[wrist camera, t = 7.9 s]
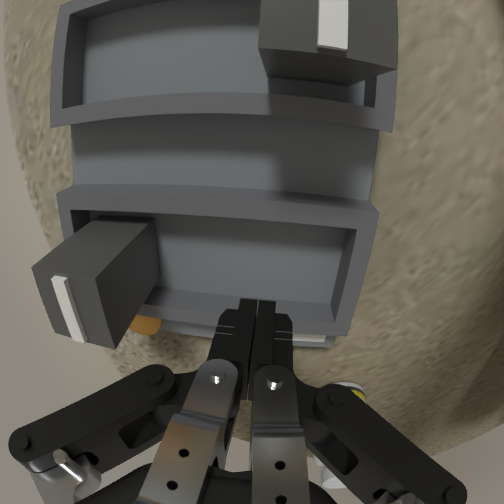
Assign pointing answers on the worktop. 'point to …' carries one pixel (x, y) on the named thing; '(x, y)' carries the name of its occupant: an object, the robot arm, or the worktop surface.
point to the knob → (328, 39)
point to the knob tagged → (99, 278)
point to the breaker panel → (219, 161)
